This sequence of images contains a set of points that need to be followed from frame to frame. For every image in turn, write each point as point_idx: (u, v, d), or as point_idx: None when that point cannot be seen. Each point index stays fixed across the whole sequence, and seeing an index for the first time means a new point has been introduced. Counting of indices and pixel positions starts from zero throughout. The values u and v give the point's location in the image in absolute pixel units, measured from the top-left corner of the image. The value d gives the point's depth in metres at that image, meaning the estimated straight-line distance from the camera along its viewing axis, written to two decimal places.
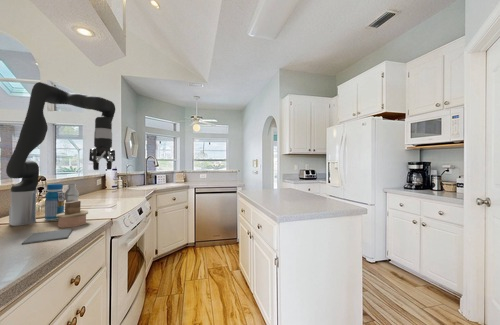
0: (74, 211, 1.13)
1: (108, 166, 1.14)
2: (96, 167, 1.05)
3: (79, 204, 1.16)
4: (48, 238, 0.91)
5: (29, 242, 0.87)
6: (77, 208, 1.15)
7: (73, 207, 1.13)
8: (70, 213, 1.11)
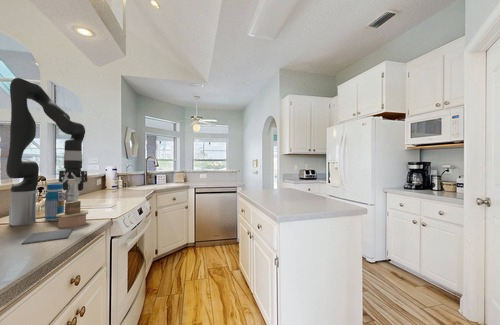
0: (74, 211, 1.13)
1: (66, 187, 1.14)
2: None
3: (79, 204, 1.16)
4: (48, 238, 0.91)
5: (29, 242, 0.87)
6: (77, 208, 1.15)
7: (73, 207, 1.13)
8: (70, 213, 1.11)
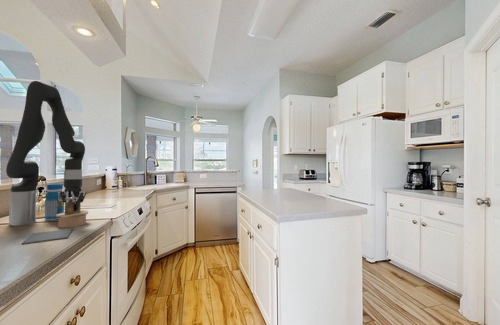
0: (74, 211, 1.13)
1: None
2: None
3: (79, 204, 1.16)
4: (48, 238, 0.91)
5: (29, 242, 0.87)
6: None
7: (73, 207, 1.13)
8: (70, 213, 1.11)
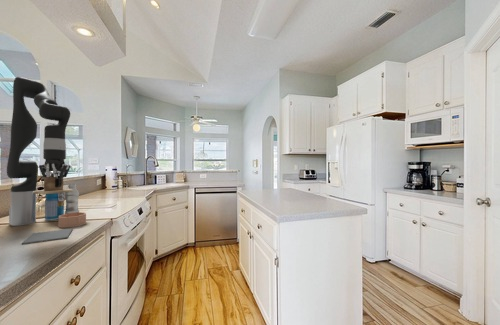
0: (55, 188, 0.97)
1: None
2: None
3: (62, 180, 1.00)
4: (48, 238, 0.91)
5: (29, 242, 0.87)
6: None
7: (54, 183, 0.96)
8: (50, 189, 0.95)
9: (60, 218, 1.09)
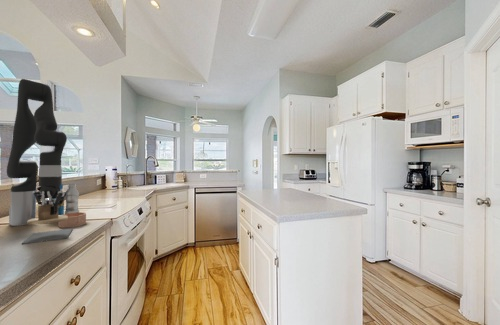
0: (50, 216, 0.94)
1: None
2: (56, 211, 0.96)
3: (57, 207, 0.97)
4: (48, 238, 0.91)
5: (29, 242, 0.87)
6: None
7: (49, 211, 0.94)
8: (45, 218, 0.92)
9: None
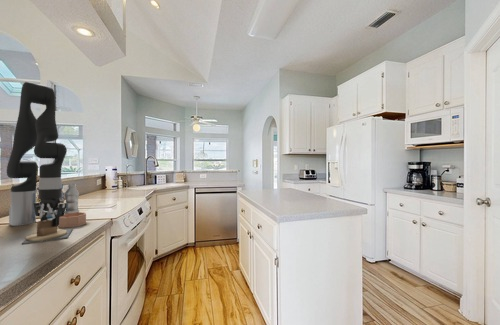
0: (49, 231, 0.94)
1: None
2: None
3: None
4: None
5: (29, 242, 0.87)
6: (53, 228, 0.95)
7: (47, 227, 0.93)
8: (43, 234, 0.92)
9: (60, 218, 1.09)
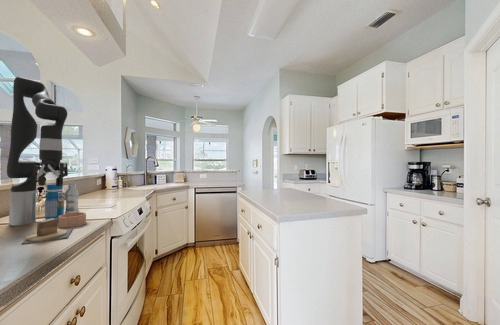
0: (49, 232, 0.94)
1: (42, 182, 0.96)
2: None
3: (55, 223, 0.97)
4: None
5: (29, 242, 0.87)
6: (53, 228, 0.95)
7: (47, 227, 0.93)
8: (43, 234, 0.92)
9: (60, 218, 1.09)
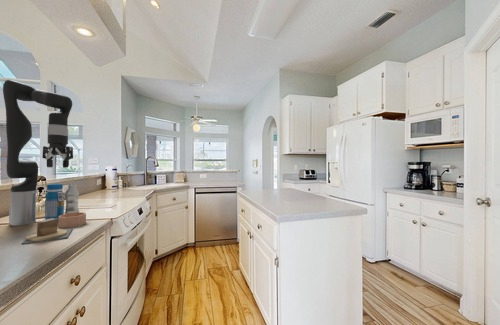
0: (49, 232, 0.94)
1: (50, 164, 1.07)
2: None
3: (55, 222, 0.97)
4: None
5: (29, 242, 0.87)
6: (53, 228, 0.95)
7: (47, 227, 0.93)
8: (43, 234, 0.92)
9: (60, 218, 1.09)
